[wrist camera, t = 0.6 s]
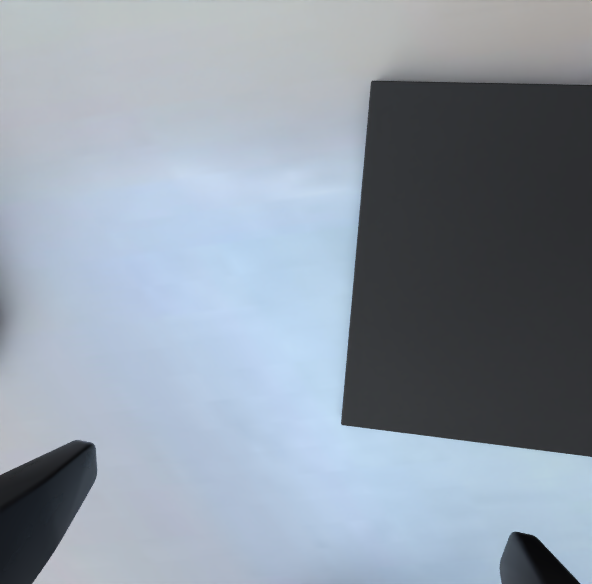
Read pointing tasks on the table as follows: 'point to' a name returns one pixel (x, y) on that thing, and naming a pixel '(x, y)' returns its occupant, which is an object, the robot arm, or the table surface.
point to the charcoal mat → (475, 265)
